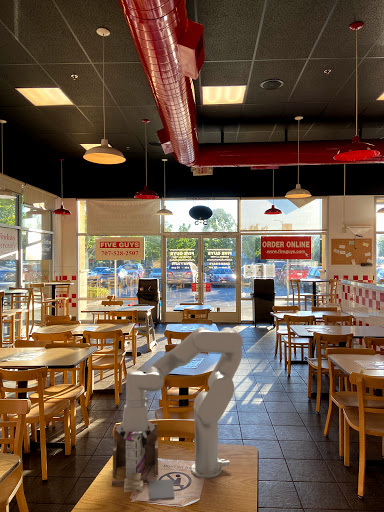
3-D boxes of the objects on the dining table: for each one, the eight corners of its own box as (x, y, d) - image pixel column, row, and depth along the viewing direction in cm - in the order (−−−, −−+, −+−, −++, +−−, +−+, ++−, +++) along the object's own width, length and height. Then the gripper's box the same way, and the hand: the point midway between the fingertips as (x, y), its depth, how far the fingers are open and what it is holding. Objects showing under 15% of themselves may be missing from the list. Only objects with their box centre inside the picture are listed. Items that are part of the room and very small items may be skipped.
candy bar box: (134, 467, 165) (134, 428, 165) (145, 468, 164) (145, 429, 164) (124, 481, 154) (124, 439, 154) (136, 483, 153) (136, 440, 153)
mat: (172, 480, 154) (172, 479, 154) (174, 498, 142) (174, 496, 142) (149, 482, 153) (149, 480, 153) (149, 500, 141) (149, 498, 141)
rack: (157, 463, 168) (157, 423, 168) (158, 482, 153) (158, 438, 153) (114, 466, 166) (114, 425, 166) (111, 486, 151) (111, 441, 151)
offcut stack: (142, 484, 152) (142, 472, 152) (142, 490, 147) (142, 478, 147) (124, 485, 151) (124, 473, 151) (124, 492, 147) (123, 479, 147)
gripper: (156, 398, 164) (156, 441, 164) (114, 400, 162) (114, 444, 162) (156, 404, 157) (157, 450, 156) (113, 406, 155) (113, 452, 154)
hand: (135, 446), depth 159 cm, fingers closed on candy bar box, 6 cm apart
